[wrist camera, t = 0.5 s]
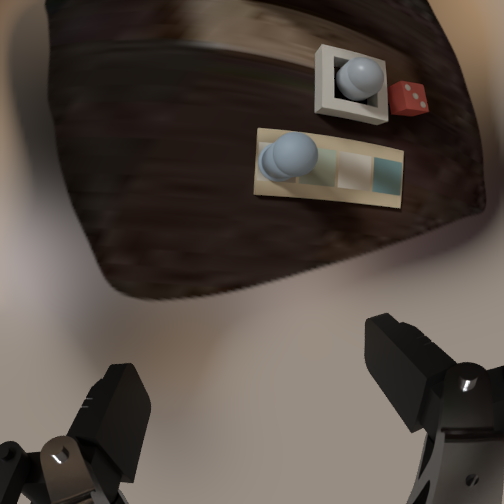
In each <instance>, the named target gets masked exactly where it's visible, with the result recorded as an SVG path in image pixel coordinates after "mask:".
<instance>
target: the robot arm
mask: <svg viewBox="0 0 504 504" xmlns="http://www.w3.org/2000/svg"><path fill="white" fill-rule="evenodd" d="M364 356H365V363H366V366H367V369H368V371H369V372H370V374H371V375H372V377H373V378H374V380H375V381H376V382H377V384H378V385H379V387H380V388H381V390H382V391H383V392H384V394H385V395H386V397H387V398H388V400H389V401H390V402H391V404H392V405H393V407H394V408H395V410H396V411H397V413H398V414H399V415H400V417H401V418H402V420H403V421H404V423H405V424H406V426H407V427H408V429H409V430H410V432H411V433H413V432H416V431H418V430H420V429H422V428H424V429H425V430H426V432H427V434H426V437H425V441H424V446H423V451H422V455H421V460H420V464H419V468H418V472H417V476H416V480H415V483H414V486H413V489H412V491H411V494H410V496H409V498H408V501H407V503H406V504H501V502H502V495H503V483H504V366H501V367H497V368H494V369H490V370H486V369H484V368H483V367H482V366H480V365H478V364H475V363H471V362H463V363H458V364H457V363H456V362H455V361H454V360H453V359H452V358H451V357H450V356H448V355H447V354H446V353H445V352H444V351H443V350H442V349H441V348H439V347H438V346H437V345H436V344H435V343H434V342H431V340H430V339H429V338H428V337H427V336H424V334H423V333H422V332H421V331H420V330H419V329H417V328H416V327H415V326H412V325H410V324H407V323H404V322H401V323H399V322H398V321H397V320H395V319H394V318H393V317H392V316H391V315H390V314H388V313H384V314H381V315H378V316H374V317H371V318H368V319H366V322H365V353H364ZM150 413H151V402H150V399H149V396H148V394H147V392H146V390H145V388H144V385H143V383H142V381H141V379H140V377H139V375H138V373H137V371H136V369H135V367H134V365H133V364H131V363H124V364H112V365H110V366H109V368H108V370H107V372H106V374H105V375H104V377H103V379H100V380H99V381H98V382H97V383H96V384H95V385H94V386H92V387H91V389H90V391H89V393H88V395H87V396H86V399H85V400H84V402H83V404H82V408H80V410H79V411H78V413H77V416H76V417H75V419H74V421H73V423H72V425H71V427H70V429H69V431H68V433H67V435H66V436H58V437H55V438H52V439H51V440H50V441H48V442H47V443H46V444H45V445H44V446H43V448H42V450H41V452H32V453H26V452H25V451H24V450H23V449H22V448H21V446H20V445H19V444H18V443H16V442H14V441H7V442H4V443H2V444H1V445H0V504H17V502H18V499H19V496H20V494H21V493H22V494H23V495H24V496H26V497H27V498H28V499H29V500H30V501H31V504H129V503H128V502H127V500H126V498H125V497H124V495H123V493H122V492H121V491H120V490H119V484H120V482H127V483H133V482H134V478H135V474H136V470H137V465H138V461H139V457H140V452H141V448H142V444H143V440H144V436H145V432H146V428H147V424H148V420H149V417H150Z"/></svg>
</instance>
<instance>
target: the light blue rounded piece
mask: <svg viewBox="0 0 504 504" xmlns="http://www.w3.org/2000/svg"><path fill="white" fill-rule="evenodd" d="M383 82H384V74H383V71H382V69H381V67H380V66H379V64H378V63H376V62H375V61H374V60H372V59H369V58H365V57H356V58H352V59H351V60H349V61H348V62H347V63H346V64H345V65H344V66H343V67H342V68H341V69H340V70H339V71H338V72H337V74H336V84H337V87H338V89H339V90H340V92H341V93H342V94H343V95H344V96H346V97H347V98H349V99H351V100H354V101H362V100H365V99H367V98H369V97H370V96H372V95H374V94H376V93H378V92H379V91H380V90H381V88H382V86H383Z"/></svg>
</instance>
